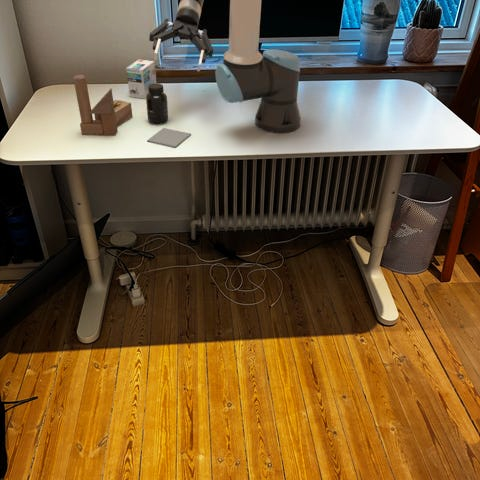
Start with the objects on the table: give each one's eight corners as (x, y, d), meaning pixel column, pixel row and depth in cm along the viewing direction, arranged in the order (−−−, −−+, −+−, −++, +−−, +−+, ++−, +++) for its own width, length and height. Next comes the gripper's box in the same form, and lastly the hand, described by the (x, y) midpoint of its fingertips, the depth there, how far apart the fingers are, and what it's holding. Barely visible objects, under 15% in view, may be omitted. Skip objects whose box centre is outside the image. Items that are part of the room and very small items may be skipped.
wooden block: (115, 136, 158) (106, 79, 147) (81, 134, 158) (70, 78, 147) (118, 131, 161) (110, 75, 150) (84, 129, 161) (74, 74, 150)
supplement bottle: (145, 124, 165) (141, 88, 158) (151, 116, 170) (147, 81, 163) (166, 125, 164) (163, 90, 157) (170, 117, 170) (168, 82, 163)
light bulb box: (145, 99, 182) (142, 69, 176) (128, 97, 184) (125, 67, 177) (157, 89, 191) (155, 60, 184) (141, 87, 192) (138, 58, 185)
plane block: (132, 116, 170) (129, 93, 165) (111, 130, 161) (108, 106, 156) (117, 113, 171) (114, 91, 167) (96, 127, 163) (92, 103, 158)
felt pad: (191, 134, 159) (191, 133, 159) (175, 148, 152) (175, 146, 151) (163, 129, 162) (163, 127, 162) (147, 141, 155) (147, 140, 155)
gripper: (222, 36, 169) (214, 81, 159) (149, 16, 165) (136, 61, 155) (227, 17, 162) (219, 63, 152) (151, -4, 158) (137, 42, 148)
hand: (177, 62), depth 153 cm, fingers open, 13 cm apart
